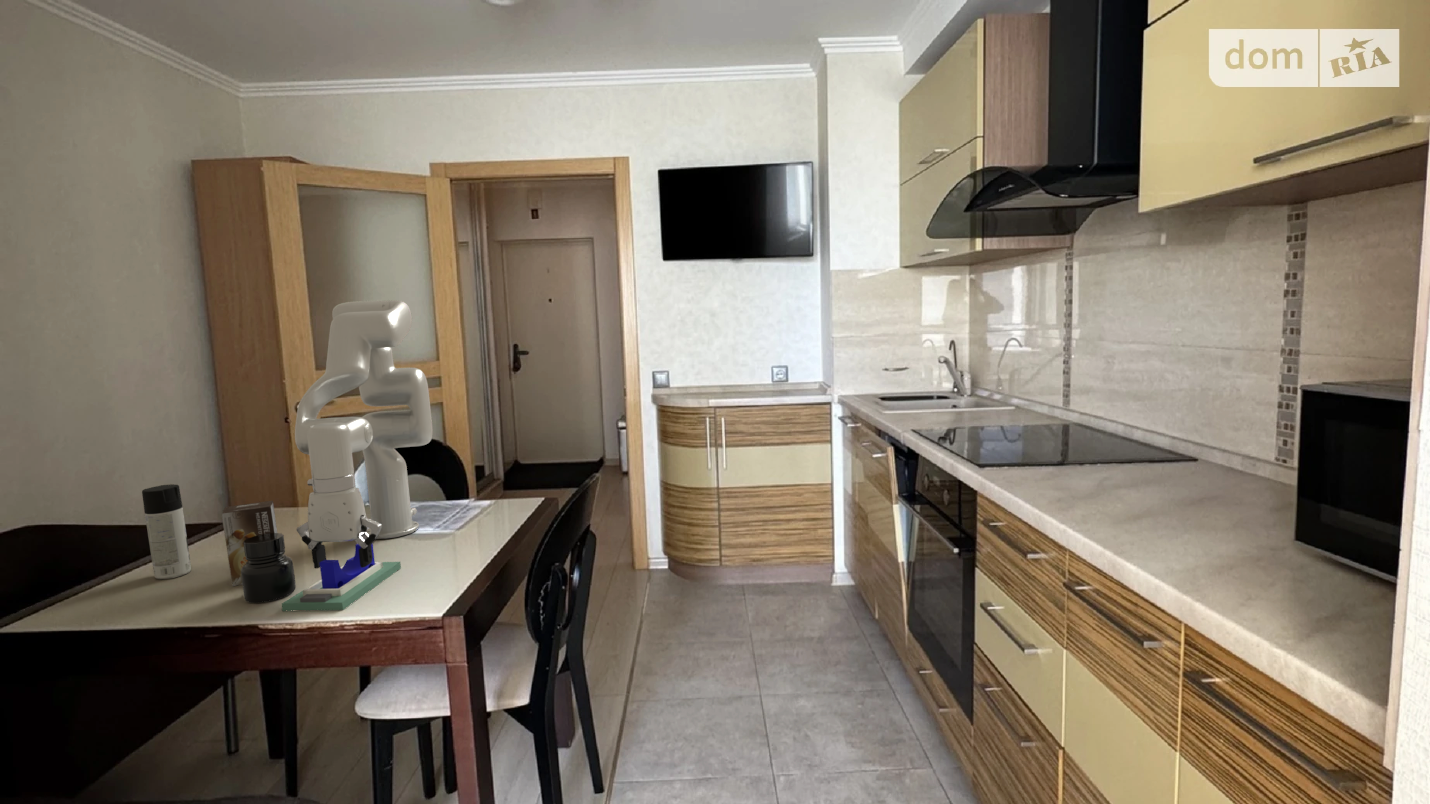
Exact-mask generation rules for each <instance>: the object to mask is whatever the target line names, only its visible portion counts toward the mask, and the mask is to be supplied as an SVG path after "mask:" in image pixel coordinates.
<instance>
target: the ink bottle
mask: <svg viewBox="0 0 1430 804" xmlns="http://www.w3.org/2000/svg"><path fill="white" fill-rule="evenodd" d="M243 544H244V551H245V556H246V560H248V561H247V562H246V564H245V565H244V566H243V567H242V569H241V577H242V584H241V585H242V590H243V591H242V593H243V598H244V600H245V602H247V603H250V604H253V603H254V604H259V603H260V604H261V603H266V602H267V603H268V602H272V601H276V600H280V599H281V600H282V599H283V598H285V597H289V595H291V594H292V593H294V592H295V590H296V577H295V576H296V575H295V570H294V563H293V559H292V558H291V557H290V556H288V555H286V554H285V552H286V543H285V537H284V534H283V533H282V532H277V533H269V534H262V535H257V536H254V537H251V538H248V539H246V540H244V542H243Z"/></svg>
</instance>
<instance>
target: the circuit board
mask: <svg viewBox="0 0 1430 804" xmlns="http://www.w3.org/2000/svg"><path fill="white" fill-rule="evenodd" d="M344 565H345V564H343V565H342V566H340V568H341V569H342V568H343V566H344ZM401 568H402V566H401V561H375V565H373V566H372V567H370V568H369V569H367V570H366V571H364V572H363V573H361V574H360V575H358V576H357V577H355V578H354V579H352V580H351V581H349V582H348V583H346V584H345V585H343V586H342V587H340V588H339V589H323V588H322V579H319V580H317V581H316V582H314V583H312V584H311V585H309V586H307V587H306V588H304V589H303V590H301V591H300V592H298V593H296V594H295V595H293V596H291V597H289V598H288V599H286V600H285V601H284V602H282V603H281V611H282V612H294V611H293V610H306V611H307V610H309V611H310V610H319V611H344V610H345V609H347V608H349V606H351V605H352V604H354V603H355V602H356V601H358V600H359V599H361V598H362V597H363V596H365V595H366V594H367V593H369V592H370V591H371V590H373V589H374V588H376V587H377V586H378V585H380V584H382V583H383V582H384V581H385V580H387V579H388V578H389V577H391V576H392V575H394V574H395V573H396V572H398V571H399V570H401ZM397 570H398V571H397ZM393 573H394V574H393ZM383 580H384V581H383ZM382 581H383V582H382ZM379 583H380V584H379ZM375 586H376V587H375ZM372 588H373V589H372ZM369 590H370V591H369ZM368 591H369V592H368ZM365 593H366V594H365ZM364 594H365V595H364ZM361 596H362V597H361ZM355 600H356V601H355ZM354 601H355V602H354ZM353 602H354V603H353ZM351 603H352V604H351ZM350 604H351V605H350ZM346 607H347V608H346ZM286 610H287V611H286ZM291 610H292V611H291ZM306 611H305V612H306ZM307 612H308V611H307ZM310 612H311V611H310Z"/></svg>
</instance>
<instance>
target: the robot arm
mask: <svg viewBox="0 0 1430 804" xmlns="http://www.w3.org/2000/svg"><path fill="white" fill-rule="evenodd" d="M331 313H332V314H331V315H332V316H331V317H332V320H331V321H330V327H329V335H328V347H327V354H326V362H325V363H326V364H325V372H324V373H323V374H322V375H321V376H320V377H319V378H318V379H317V380H316V381H314V382H313V383H312V385H311V386H310V387H309V388H308V389H307V390H306V392H305V393H303V394H304V395H303V396H302V397H301V399H300V401H299V404H298V406H297V411H296V419H295V426H294V442H295V445H296V447H297V449H298V451H300V452H301V453H303V454H305V455H308V456H309V464H310V473H311V478H309V479H308V480H307V481H306V483H307V485H308V486H309V487H310V486H311V487H312V490H313V491H312V492H310V493H309V496H308V503H307V521H306V522H305V523H302V524H301V525H300V526H298V527H297V528H296V532H297V533H298V535H299V537H300V538H301V541H302V542H303V543H304V544H305V545H307V548H308V550H310V551H311V557H312V562H313V567H314V568H313V569H320V562H321V561H323V560H327V551H326V546H325V545H324V544H323V543H334V542H335V543H337V542H338V543H339V542H352V541H355V542H356V544H359V545H360V546H361V548H360V549H359V559H360V567H366V566H367V565H369V564H370V563H371V562H372V558H373V557H372V548H371V544H373V545H374V542H375V541H377V540H384V539H385V540H386V539H393V538H399V537H404V536H406V535H409V534H412V533H414V531H415V532H416V531H417V530H416V529H417V528H418V527H419V528H420V526H419V525H420V524H419V522H417V521H415V520H413V518H412V517H413V516H415V515H416V514H417V513H418V510H417V508H416V507H411V498H410V489H409V478H408V470H407V469H408V468H407V467H408V466H407V463H406V460H405V459H404V457H403V456H402V455H401V454H400V453H399V452H398V451H397V450H396V449H398V448H410V447H422V446H425V445H427V444H429V443H430V442H432V439H433V431H434V430H433V421H432V419H433V418H432V411H431V403H430V402H431V399H430V391H429V384H428V383H429V382H428V380H427V377H426V374H425V373H424V372H423V371H422V369H420V368H417V367H396V366H395V364H394V357H393V349H392V348H396V347H397V346H399V345H400V344H401V343H402V342H403V340H404V339H405V337H406V336H407V335H408V334H409V332H410V331H411V327H412V323H413V317H412V312H411V309H410V307H409V305H408V304H407V303H406V302H404V301H403V300H397V299H395V300H393V299H392V300H389V299H388V300H361V301H360V300H358V301H347V302H342V303H339V304H337V305H335V306H334V307H333V309H332V312H331ZM357 388H358V390H359V395H360V399H361V401H362V403H363V404H364V405H366V406H369V407H393V406H394V407H395V406H407V407H408V408H409V409H403V410H402V409H401V410H384V411H373V412H369V413H366V414H365V415H362V416H346V417H345V416H344V417H327V418H326V417H325V418H318V416H319V413H320V411H322V409H323V407H325V405H327V404H328V403H329V402H331V401H332V400H334V399H336V398H337V397H340V396H342V395H344V394H346V393H349V392H351V391H352V390H355V389H357ZM360 452H362V453H363V458H364V465H365V474H366V475H365V476H366V484H367V492H368V493H367V494H368V502H369V512H370V518H369V517H367V514H366V509H365V504H364V500H363V497H362V496H363V495H362V493H361V491H360V488H358V487H357V485H356V477H355V468H354V467H355V466H354V457H353V453H360ZM419 528H418V529H419Z"/></svg>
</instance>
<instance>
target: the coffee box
mask: <svg viewBox="0 0 1430 804" xmlns="http://www.w3.org/2000/svg"><path fill="white" fill-rule="evenodd" d="M221 519H222V526H223V532H224V539H225V546H226V552H227V561H228V567H229V571H230V578H231V579H230V580H231V586H232V587H235V586H236V587H237V586H241V585H242V577H241V569H242V567H243V566H244V565H245V564H246V562H247V561H248V560H246V556H245V551H244V544H243V542H244V540H246V539H248V538H251V537H254V536H257V535H262V534H269V533H278V529H277V521H276V513H275V506H274V501H273V500H269V501H261V502H260V501H259V502H254V503H253V502H252V503H246V504H245V503H244V504H239V505H230V506H225V507H224V508H223V510H222V513H221Z"/></svg>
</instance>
